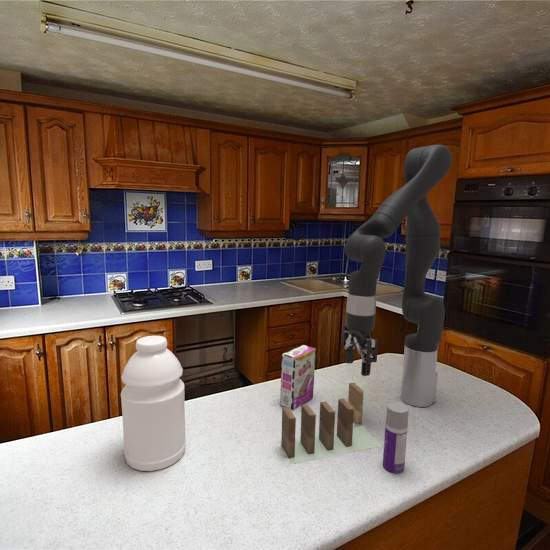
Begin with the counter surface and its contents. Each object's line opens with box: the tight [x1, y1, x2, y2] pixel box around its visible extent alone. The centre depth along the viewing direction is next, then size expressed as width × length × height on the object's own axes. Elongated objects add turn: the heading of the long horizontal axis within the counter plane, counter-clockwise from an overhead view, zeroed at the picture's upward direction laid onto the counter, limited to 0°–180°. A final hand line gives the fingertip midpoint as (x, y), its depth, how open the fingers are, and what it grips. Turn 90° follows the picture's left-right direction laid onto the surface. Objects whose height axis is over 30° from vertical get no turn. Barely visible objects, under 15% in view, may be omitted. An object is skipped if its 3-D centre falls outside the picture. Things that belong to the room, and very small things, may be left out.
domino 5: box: [347, 382, 365, 426], centre depth 103 cm, size 2×5×10 cm, turn 18°
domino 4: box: [336, 398, 354, 447], centre depth 93 cm, size 2×5×10 cm, turn 18°
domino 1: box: [280, 407, 297, 458], centre depth 88 cm, size 2×5×10 cm, turn 18°
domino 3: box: [318, 400, 336, 451], centre depth 91 cm, size 2×5×10 cm, turn 18°
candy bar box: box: [279, 344, 317, 411], centre depth 112 cm, size 11×5×16 cm, turn 141°
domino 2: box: [299, 403, 317, 455], centre depth 90 cm, size 2×5×10 cm, turn 18°
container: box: [382, 401, 409, 475], centre depth 83 cm, size 5×5×15 cm
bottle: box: [120, 335, 187, 472], centre depth 86 cm, size 14×14×28 cm
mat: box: [277, 425, 382, 465], centre depth 93 cm, size 24×9×1 cm, turn 108°
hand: (357, 368), depth 101 cm, fingers open, 8 cm apart
